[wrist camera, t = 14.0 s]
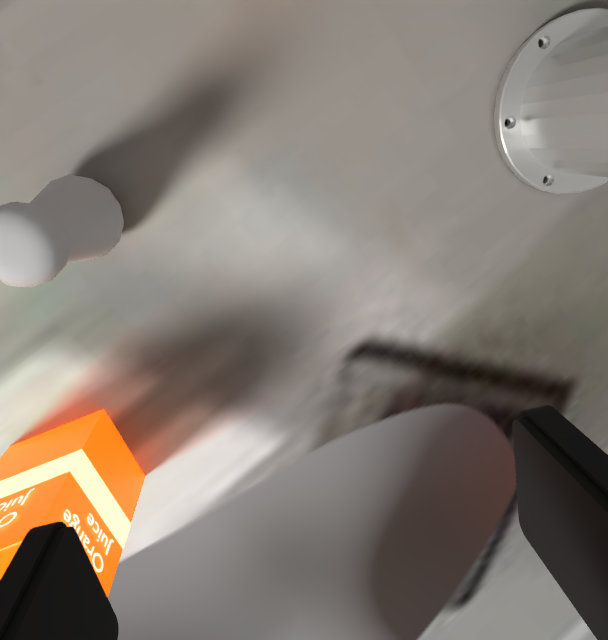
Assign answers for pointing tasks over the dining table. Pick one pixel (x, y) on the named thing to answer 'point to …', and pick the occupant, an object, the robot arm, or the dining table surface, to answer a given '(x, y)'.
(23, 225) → the salt shaker
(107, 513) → the orange juice
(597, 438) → the dining table surface
